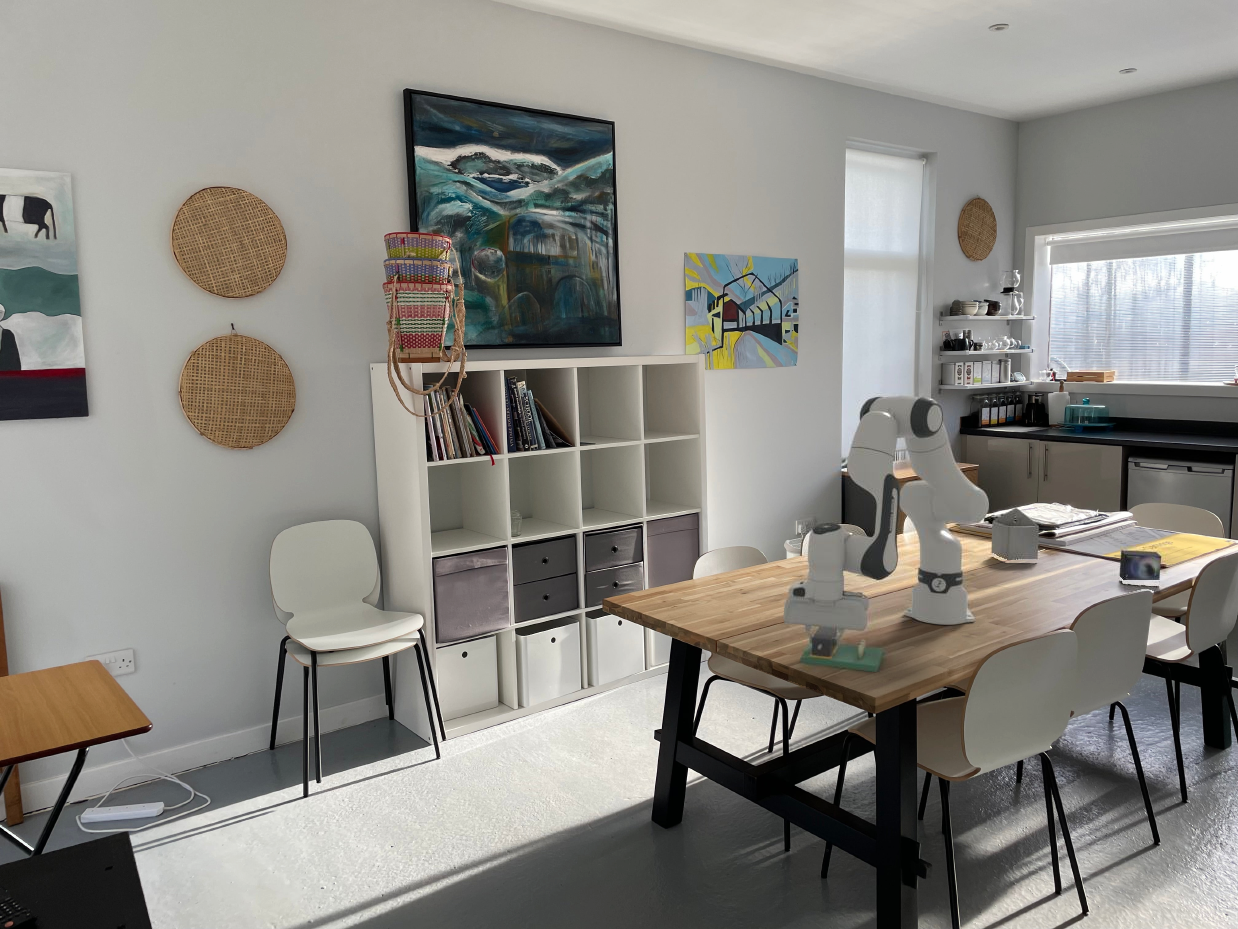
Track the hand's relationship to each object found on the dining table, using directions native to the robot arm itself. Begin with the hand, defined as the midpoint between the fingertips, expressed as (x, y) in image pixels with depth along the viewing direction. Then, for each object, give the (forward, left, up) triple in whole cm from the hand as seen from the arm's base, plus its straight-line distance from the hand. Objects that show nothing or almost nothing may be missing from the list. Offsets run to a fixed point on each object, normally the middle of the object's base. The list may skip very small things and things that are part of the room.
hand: (824, 643), depth 223 cm
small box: (-109, +82, -4) cm, 137 cm away
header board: (0, +4, -3) cm, 6 cm away
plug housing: (+1, 0, -2) cm, 2 cm away
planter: (-130, +44, -4) cm, 137 cm away
